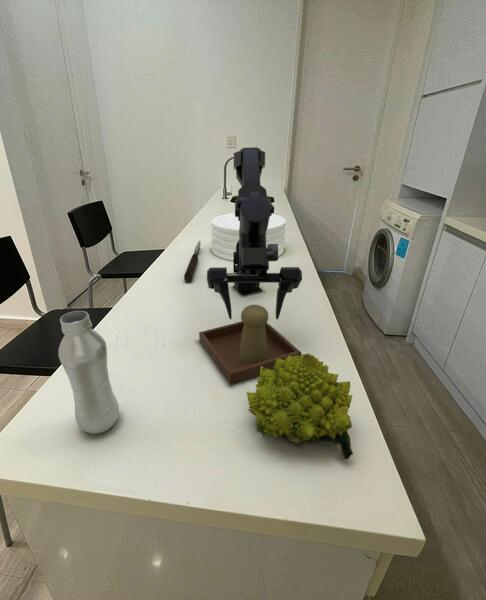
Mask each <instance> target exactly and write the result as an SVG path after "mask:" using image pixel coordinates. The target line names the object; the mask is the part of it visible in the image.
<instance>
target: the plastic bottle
mask: <svg viewBox="0 0 486 600" xmlns="http://www.w3.org/2000/svg"><path fill="white" fill-rule="evenodd" d="M59 322H60V326H61V329H60V330H61V333H62V334H63V335H64V336H63V337H62V339H61V341H60V344H59V346H58V353H57V357H58V359H59V361H60V363H61V366H62V367H63V369H64V371H65V374H66V376H67V378H68V381H69V384H70V387H71V390H72V394H73V395H72V396H73V401H74V402H73V403H74V417H75V422H76V423H77V426H78V427H79V428H80V429H81V430H82V431H83V432H85V433H87V434H95V435H97V434H101V433H104V432H106V431H108V430H110V429H111V428H112V427H113V426H114V425H115V424H116V422H117V421H118V419H119V416H120V405H119V402H118V400H117V397H116V395H115V394H114V391H113V388H112V385H111V381H110V376H109V369H108V347H107V342H106V340H105V338H104V337H103V336H102V335H101V334H100V333H98V331H96V330H94V329H93V328H92V327H93V323H92V321H91V319H90V314H89V313H88V312H87V311H84V310H74V311H70V312H67V313H65V314H63V315H62V316H61V317H60V318H59Z"/></svg>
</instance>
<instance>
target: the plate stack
mask: <svg viewBox="0 0 486 600" xmlns="http://www.w3.org/2000/svg"><path fill="white" fill-rule="evenodd" d="M210 223H211V224H210V225H211V227H210V228H211V229H210V230H211V251H212V253H213V254H214V255H215V256H216V257H219V258H220V259H224V260H228V261H233V252H236V244H237V242H238V241H239V227H240V221H239V220H238V217H235V212H230V213H225V214H222V215H218V216H215V217H213V218H212V219H211V221H210ZM286 225H287V219H286V218H284V217H283V216H281V215H279V214H275V213H272V215H271V216H270V218H269V223H268V228H267V231H266V248H267V246H268V244H278V257H280V256H282V254H284V252H285V239H286Z"/></svg>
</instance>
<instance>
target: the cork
mask: <svg viewBox="0 0 486 600" xmlns="http://www.w3.org/2000/svg"><path fill="white" fill-rule="evenodd" d="M240 319H241V321H242V322H243V323H244V326H243V331H242V337H241V343H240V349H239V358H240V359H241V360H242V361H243V362H245V363H248V364H255V363H258V362H262V361H265V360H267V359H268V350H267V340H266V330H265V324H266V323H268V321H269V312H268V310H267V309H266V307H264V306H262V305H259V304H250V305H247V306H245V307H244V308H243V309H242V311H241V313H240Z"/></svg>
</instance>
